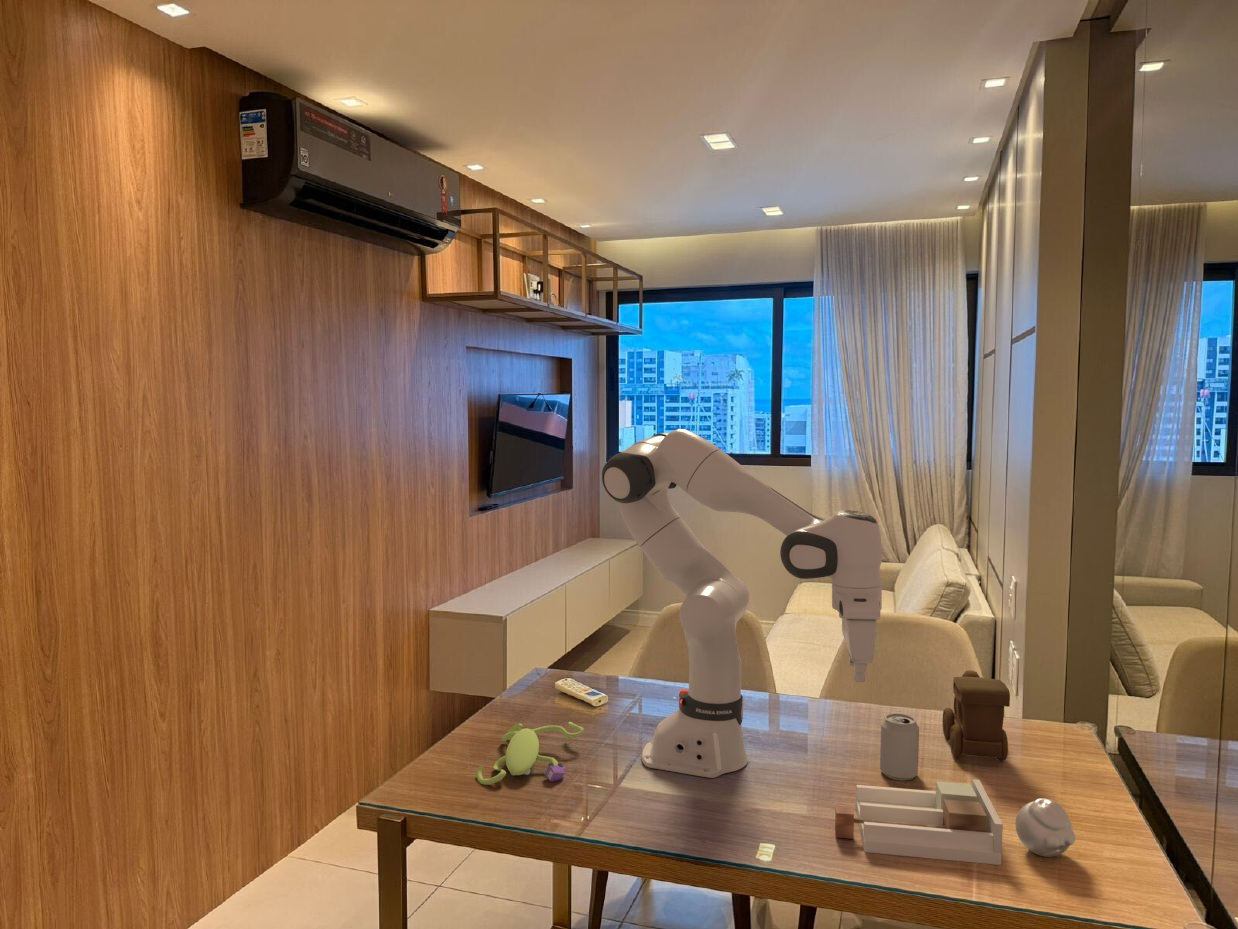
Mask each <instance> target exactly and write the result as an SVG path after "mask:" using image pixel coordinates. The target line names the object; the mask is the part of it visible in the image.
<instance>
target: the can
mask: <svg viewBox="0 0 1238 929" xmlns="http://www.w3.org/2000/svg"><path fill="white" fill-rule="evenodd" d="M919 744H920V726H919V725H918V724H917V719H916V718H915V717H914V716H911V715H909V714H906V713H898V712H893V713H892V712H891V713H887V714H886V715H885V716H884V719H883V720H882V721H881V724H880V755H879V769H880V771H881V772H882V773H883V774H884V775H885V776H886V777H888V778H889V779H893V780H895V781H910V780H913V779H914V777H916V776H918V772H919V751H920V750H919Z"/></svg>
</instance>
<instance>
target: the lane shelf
mask: <svg viewBox="0 0 1238 929" xmlns="http://www.w3.org/2000/svg"><path fill="white" fill-rule="evenodd" d="M971 781H972V782H971V783H972V784H971V786H972V788H973V790H974V792H975V794H976V796H977V802H980V804H981V806H982V808H983V810H984V812H985V814H986V816H987V817H986V832H976V831H964V830H953V829H942V828H931V827H919V826H908V825H897V824H885V823H874V822H864V824H863V823H858V825H859V826H858V827H859V830H860V831H859V832H860V836H861V841H862V847H863V852H864V853H870V854H879V855H880V854H881V855H892V856H902V857H910V858H911V857H913V858H923V859H924V858H925V859H932V860H933V859H934V860H942V861H943V860H944V861H954V862H955V861H957V862H966V863H975V864H986V865H997V866H1002V856H1003V853H1002V852H1003V826H1004V825H1003V823H1002V820H1001V818H1000V816H999V815H998V813H997V811H996V809H995V807H994V805H993V803H992V801H991V800H990V798H989V796H988V794H987V792H986V790H985V788H984V786H983V785H982V782H981V779H975V778H974V779H973V778H972V779H971ZM855 786H856V788H855V789H856V790H855V791H856V792H855V810H856V815H857V819H866V820H877V821H888V822H900V823H911V824H922V825H934V826H943V809H936V808H935V803H936V790H927V789H926V790H925V789H924V790H923V789H911V788H902V787H901V788H899V787H891V786H889V787H888V786H877V785H876V786H874V785H863V784H856V785H855Z"/></svg>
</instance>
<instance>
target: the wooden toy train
mask: <svg viewBox="0 0 1238 929" xmlns="http://www.w3.org/2000/svg"><path fill="white" fill-rule="evenodd" d="M952 687H953V688H952V691H953V693H954V699H953V709H952V708H951V707H945V708H944V709H943V711H942V732H943V737H945V739H946V740H949V742H950V743H949V745H950V752H951V755H952V757H954V758H956V759H960V758H962V756H970V757H972V756H973V757H981V758H993V759H996V760H997V761H998V762H1000V763H1002V762H1005V761H1007V758H1008V755H1009V754H1008V753H1009V742H1008V735H1007V733H1006V732H1007V731H1005V729H1004V728H1003V727H1004V726H1003V724H1004V719H1005V707H1007V708H1008V707H1009V708H1010V704H1011V703H1010V702H1011V694H1010V690H1009V688H1008V687H1007V685H1006V684H1005V683H1004V682H1003V681H1001V680H1000V679H995V678H989V677H980V675H979V673H978V672H977V671H975V670H969V669H968V670H965V671H964V673H963V674H962V675H961V676H953V683H952Z"/></svg>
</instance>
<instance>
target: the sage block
mask: <svg viewBox="0 0 1238 929" xmlns="http://www.w3.org/2000/svg"><path fill="white" fill-rule="evenodd" d="M935 791H936V803H935V808H936V809H943V802H944V799H947V800H959V801H971V802H977V796H976V794H975V792H974V790H973V788H972V784H971V783H961V782H950V781H949V782H948V781H935Z"/></svg>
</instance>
